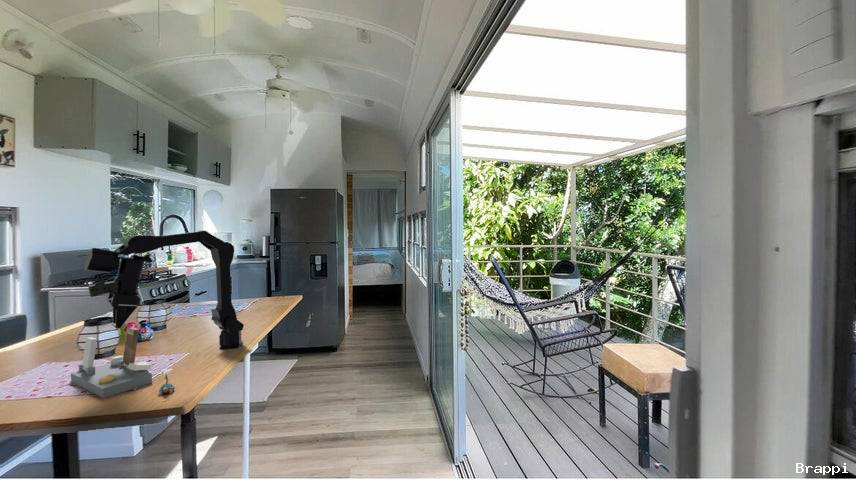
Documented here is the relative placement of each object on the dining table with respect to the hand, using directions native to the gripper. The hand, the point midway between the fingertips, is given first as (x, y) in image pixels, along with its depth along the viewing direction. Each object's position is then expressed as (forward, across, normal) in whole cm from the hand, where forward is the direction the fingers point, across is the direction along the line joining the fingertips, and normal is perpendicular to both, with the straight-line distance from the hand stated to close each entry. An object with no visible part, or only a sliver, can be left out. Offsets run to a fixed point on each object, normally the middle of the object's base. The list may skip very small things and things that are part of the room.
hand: (116, 325), depth 107 cm
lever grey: (+13, -1, -4) cm, 14 cm away
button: (+12, -3, +3) cm, 13 cm away
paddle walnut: (+11, +4, +5) cm, 13 cm away
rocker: (+11, +11, +6) cm, 17 cm away
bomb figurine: (+15, +25, +12) cm, 31 cm away
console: (+15, +5, +2) cm, 16 cm away
